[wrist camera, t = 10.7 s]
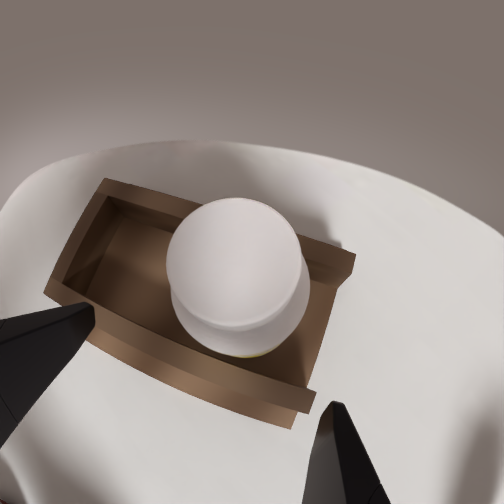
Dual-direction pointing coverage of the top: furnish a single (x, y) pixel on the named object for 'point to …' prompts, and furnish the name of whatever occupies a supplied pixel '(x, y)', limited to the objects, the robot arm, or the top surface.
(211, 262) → the supplement bottle
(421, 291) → the top surface
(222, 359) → the walnut rail track
